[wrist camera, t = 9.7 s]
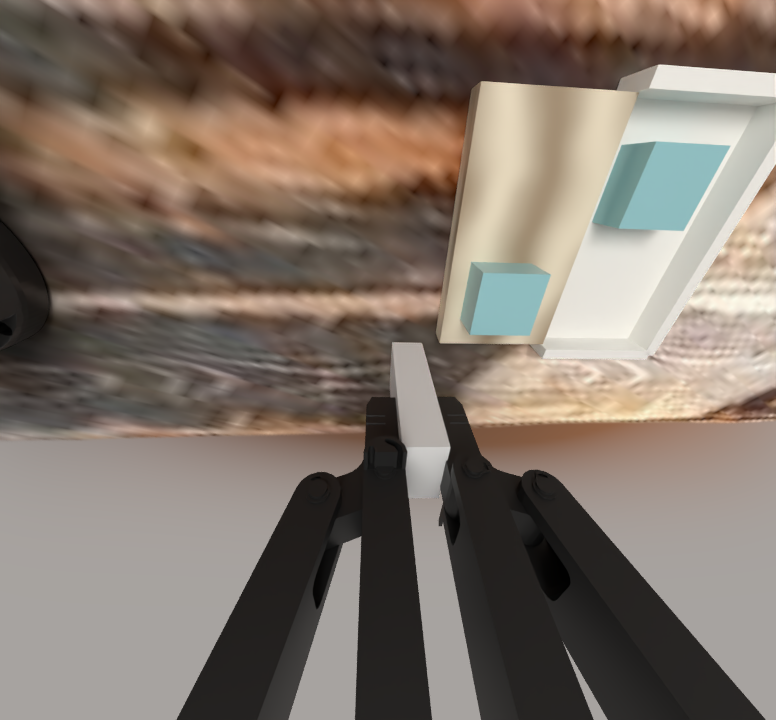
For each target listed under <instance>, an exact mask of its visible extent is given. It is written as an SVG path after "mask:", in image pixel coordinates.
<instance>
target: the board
mask: <svg viewBox="0 0 776 720" xmlns="http://www.w3.org/2000/svg"><path fill="white" fill-rule="evenodd" d="M638 94H639V92H628V91H614V90H599V89H585V88H571V87H556V86H542V85H527V84H513V83H499V82H484V81H481V82H480V83H479V84H477V85H476V86H475V87H474V88H472V90H471V96H470V103H469V110H468V117H467V124H466V131H465V137H464V144H463V151H462V158H461V165H460V171H459V178H458V185H457V192H456V199H455V205H454V212H453V219H452V226H451V233H450V239H449V246H448V253H447V260H446V267H445V273H444V280H443V287H442V294H441V301H440V307H439V314H438V321H437V328H436V335H437V338H438V340H439V343H469V344H543V342H544V340H545V337H546V335H547V332H548V329H549V327H550V324H551V321H552V319H553V316H554V314H555V311H556V308H557V306H558V303H559V301H560V298H561V295H562V293H563V290H564V288H565V285H566V282H567V280H568V277H569V274H570V272H571V269H572V267H573V264H574V261H575V259H576V256H577V254H578V251H579V248H580V246H581V243H582V241H583V238H584V235H585V233H586V230H587V227H588V225H589V222H590V220H591V217H592V214H593V212H594V209H595V207H596V204H597V201H598V199H599V196H600V194H601V191H602V188H603V186H604V183H605V180H606V178H607V175H608V173H609V170H610V167H611V165H612V162H613V160H614V157H615V154H616V152H617V149H618V147H619V144H620V141H621V139H622V136H623V133H624V131H625V128H626V126H627V123H628V120H629V118H630V115H631V113H632V110H633V107H634V105H635V102H636V100H637V97H638ZM471 262H497V263H531V264H533V265H535V266H537V267H539V268H540V269H542V270H544V271H546V272H547V273H549V274H551V276H550V279H549V282H548V285H547V288H546V291H545V293H544V296H543V299H542V302H541V305H540V308H539V311H538V313H537V316H536V319H535V322H534V325H533V328H532V331H531V334H530V336H509V335H469V333H468V331H467V330H466V328H465V326H464V325H463V323H462V321H461V320H460V317H461V312H462V307H463V302H464V297H465V291H466V286H467V281H468V276H469V271H470V265H471Z"/></svg>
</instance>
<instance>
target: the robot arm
mask: <svg viewBox="0 0 776 720" xmlns="http://www.w3.org/2000/svg"><path fill="white" fill-rule="evenodd" d="M48 310H49V300H48V294H47V290H46V286H45V283H44V281H43V278H42V276H41V274H40V272H39V270H38V268H37V266H36V265H35V263H34V261H33V260H32V258H31V257H30V255H29V254H28V252H27V251H26V250H25V248H24V247H23V246H22V245H21V243H20V242H19V241H18V240H17V238H16V237H15V236H14V235H13V234H12V233H11V232H10V231H9V230H8V229H7V228H6V226H5V225H4V224H3V223H1V222H0V350H2V349H5V348H8V347H10V346H12V345H14V344H16V343H18V342H20V341H22V340H24V339H26V338H28V337H30V336H32V335H34V334H35V333H36V332H38V331H39V330H40V329H41V328H42V326H43V325H44V323H45V321H46V319H47V316H48ZM440 490H441V494H442V499H443V505H442V509H441V513H440V517H439V526H442V524H444V529H445V534H446V539H447V544H448V549H449V555H450V560H451V565H452V570H453V575H454V581H455V586H456V591H457V596H458V601H459V607H460V612H461V617H462V622H463V627H464V633H465V638H466V643H467V648H468V654H469V659H470V664H471V669H472V674H473V680H474V685H475V690H476V695H477V700H478V705H479V711H480V716H481V720H593V717H592V714H591V712H590V710H589V707H588V705H587V702H586V700H585V697H584V694H583V692H582V689H581V687H580V684H579V682H578V679H577V677H576V674H575V672H574V669H573V667H572V664H571V662H570V659H569V657H568V654H567V652H566V649H565V647H564V644H565V646H566V648H567V650H568V651H569V653H570V655H571V657H572V658H573V660H574V662H575V664H576V665H577V667H578V669H579V670H580V672H581V674H582V676H583V677H584V679H585V681H586V683H587V684H588V686H589V688H590V689H591V691H592V693H593V695H594V697H595V698H596V700H597V702H598V703H599V705H600V707H601V709H602V710H603V712H604V714H605V716H606V717H607V719H608V720H765V718H764V717H763V716H762V715H761V714H760V713H759V711H758V710H757V709H756V708H755V707H754V706H753V704H752V703H751V702H750V701H749V700H748V699H747V698H746V696H745V695H744V694H743V693H742V692H741V691H740V689H738V687H737V686H736V685H735V684H734V683H733V681H732V680H731V679H730V678H729V677H728V675H727V674H726V673H725V672H724V671H723V670H722V669H721V667H720V666H719V665H718V664H717V663H716V662H715V660H714V659H713V658H712V657H711V656H710V655H709V653H708V652H707V651H706V650H705V649H704V648H703V647H702V645H701V644H700V643H699V642H698V641H697V640H696V638H695V637H694V636H693V635H692V634H691V633H690V631H689V630H688V629H687V628H686V627H685V626H684V624H683V623H682V622H681V621H680V620H679V619H678V618H677V617H676V615H675V614H674V613H673V612H672V611H671V609H670V608H669V607H668V606H667V605H666V604H665V603H664V601H663V600H662V599H661V598H660V597H659V596H658V594H657V593H656V592H655V591H654V590H653V589H652V588H651V586H650V585H649V584H648V583H647V582H646V580H645V579H644V578H643V577H642V576H641V575H640V573H639V572H638V571H637V570H636V569H635V568H634V567H633V565H632V564H631V563H630V562H629V561H628V560H627V558H626V557H625V556H624V555H623V554H622V553H621V551H620V550H619V549H618V548H617V547H616V546H615V545H614V543H613V542H612V541H611V540H610V539H609V538H608V536H607V535H606V534H605V533H604V532H603V531H602V529H601V528H600V527H599V526H598V525H597V524H596V522H595V521H594V520H593V519H592V518H591V517H590V516H589V514H588V513H587V512H586V511H585V510H584V509H583V508H582V506H581V505H580V504H579V503H578V502H577V500H575V498H574V497H573V496H572V495H571V493H570V492H569V491H568V490H567V489H566V488H565V486H564V485H563V484H562V483H561V482H560V481H559V480H558V479H556V478H555V477H554V476H552V475H550V474H549V473H547V472H544V471H540V470H529V471H527V472H525V473H524V474H523V476H522V477H520V476H516V475H513V474H509V473H505V472H502V471H500V470H497V469H495V468H493V467H492V465H491V463H490V462H489V461H488V460H487V459H485V458H484V457H483V456H482V455H481V453H480V451H479V448H478V446H477V443H476V440H475V438H474V435H473V433H472V430H471V427H470V424H469V422H468V419H467V416H466V414H465V411H464V408H463V406H462V404H461V403H460V402H459V401H458V400H457V399H456V398H455V397H437V396H436V392H435V389H434V385H433V381H432V378H431V374H430V371H429V367H428V363H427V360H426V356H425V352H424V349H423V345H422V343H400V342H392V353H391V371H390V397H372V398H371V399H370V401H369V403H368V404H367V409H366V436H365V449H364V460H363V462H362V464H361V465H360V466H359V467H358V468H357V469H355V470H354V471H353V472H350V473H348V474H345V475H342V476H339V477H334V476H333V475H332V474H329V473H326V472H317V473H314V474H311V475H309V476H307V477H306V478H304V479H303V480H302V481H301V482H300V484H299V485H298V486H297V488H296V490H295V492H294V494H293V495H292V498H291V500H290V501H289V503H288V505H287V508H286V509H285V511H284V513H283V515H282V517H281V519H280V521H279V522H278V525H277V526H276V528H275V531H274V532H273V534H272V536H271V538H270V540H269V542H268V544H267V546H266V548H265V550H264V552H263V553H262V555H261V557H260V559H259V561H258V563H257V565H256V567H255V569H254V571H253V573H252V575H251V577H250V579H249V581H248V582H247V584H246V586H245V588H244V590H243V592H242V594H241V596H240V598H239V600H238V602H237V604H236V606H235V608H234V610H233V612H232V614H231V615H230V617H229V619H228V621H227V623H226V625H225V627H224V629H223V631H222V633H221V635H220V637H219V639H218V640H217V642H216V644H215V646H214V648H213V650H212V652H211V654H210V656H209V658H208V660H207V662H206V664H205V666H204V668H203V670H202V671H201V673H200V675H199V677H198V679H197V681H196V683H195V685H194V687H193V689H192V691H191V693H190V695H189V697H188V698H187V701H186V702H185V705H184V706H183V708H182V710H181V712H180V714H179V716H178V718H177V720H288V718H289V715H290V712H291V709H292V706H293V703H294V699H295V696H296V693H297V690H298V686H299V683H300V680H301V677H302V674H303V670H304V667H305V664H306V661H307V658H308V654H309V651H310V648H311V645H312V642H313V638H314V635H315V632H316V629H317V625H318V622H319V619H320V616H321V613H322V609H323V606H324V603H325V600H326V596H327V593H328V590H329V587H330V584H331V581H332V577H333V574H334V571H335V568H336V564H337V561H338V558H339V555H340V552H341V548H342V545H343V543H345V542H348V541H350V540H353V539H355V538H358V537H360V536H361V565H360V593H359V595H360V596H359V622H358V651H357V680H356V709H355V720H432V716H431V706H430V696H429V687H428V678H427V668H426V658H425V649H424V640H423V630H422V621H421V611H420V603H419V592H418V584H417V573H416V565H415V556H414V555H415V554H414V545H413V535H412V527H411V516H410V508H409V498H439V495H440ZM562 641H563V642H562ZM563 643H564V644H563Z"/></svg>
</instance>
